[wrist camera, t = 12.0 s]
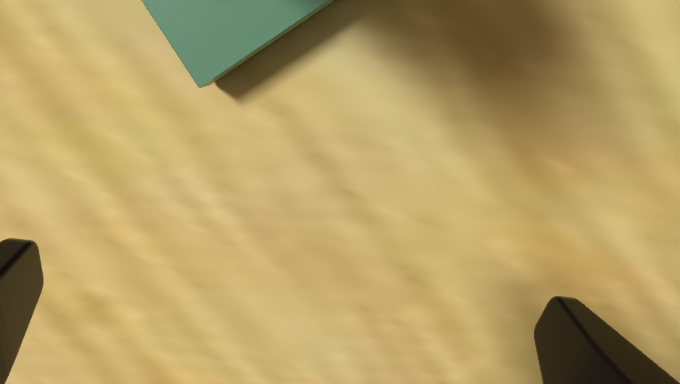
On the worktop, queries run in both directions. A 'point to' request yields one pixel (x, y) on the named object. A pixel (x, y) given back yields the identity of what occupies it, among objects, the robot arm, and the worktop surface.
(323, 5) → the board
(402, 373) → the worktop surface
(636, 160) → the worktop surface
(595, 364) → the robot arm
